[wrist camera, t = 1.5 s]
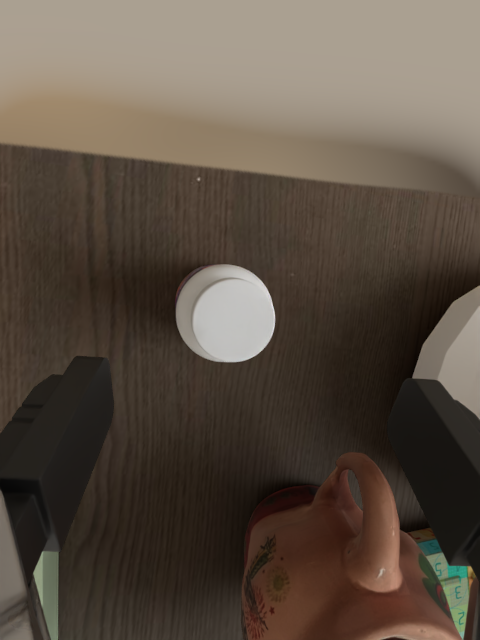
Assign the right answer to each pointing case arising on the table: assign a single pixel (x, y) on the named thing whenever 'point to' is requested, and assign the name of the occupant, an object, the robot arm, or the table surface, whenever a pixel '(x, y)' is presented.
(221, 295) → the pill bottle
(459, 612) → the puzzle game
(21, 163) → the table surface
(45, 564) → the storage box
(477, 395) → the white vase
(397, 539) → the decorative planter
